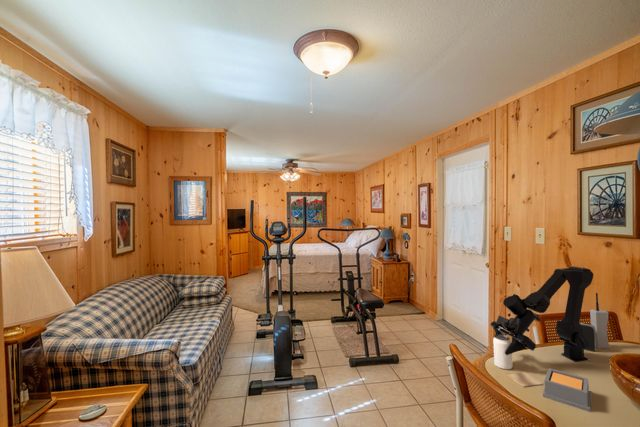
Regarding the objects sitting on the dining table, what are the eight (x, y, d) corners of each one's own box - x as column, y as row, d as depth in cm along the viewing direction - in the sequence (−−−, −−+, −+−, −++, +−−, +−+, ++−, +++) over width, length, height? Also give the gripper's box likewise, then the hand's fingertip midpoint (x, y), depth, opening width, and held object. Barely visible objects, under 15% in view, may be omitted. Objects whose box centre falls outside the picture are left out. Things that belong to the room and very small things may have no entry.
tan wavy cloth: (524, 373, 114) (524, 372, 114) (542, 384, 106) (542, 383, 106) (506, 375, 113) (506, 374, 113) (523, 387, 105) (523, 386, 105)
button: (553, 378, 105) (553, 372, 105) (582, 387, 99) (582, 380, 99) (550, 388, 99) (550, 381, 99) (581, 398, 94) (581, 390, 94)
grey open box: (547, 381, 108) (546, 366, 108) (591, 394, 99) (590, 378, 99) (542, 396, 99) (542, 380, 99) (590, 412, 91) (589, 394, 91)
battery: (597, 349, 130) (595, 324, 130) (595, 352, 128) (594, 326, 128) (577, 344, 136) (575, 320, 136) (575, 347, 133) (573, 322, 133)
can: (495, 360, 124) (494, 332, 125) (513, 364, 120) (511, 336, 120) (493, 366, 119) (491, 338, 120) (511, 371, 115) (510, 341, 115)
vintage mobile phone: (610, 348, 130) (607, 294, 131) (597, 348, 131) (594, 293, 132) (604, 345, 134) (601, 291, 134) (591, 344, 135) (588, 291, 135)
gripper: (493, 303, 130) (471, 329, 128) (527, 316, 111) (503, 348, 110) (509, 318, 131) (488, 345, 129) (546, 335, 112) (522, 366, 111)
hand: (499, 350), depth 120 cm, fingers closed on can, 6 cm apart
